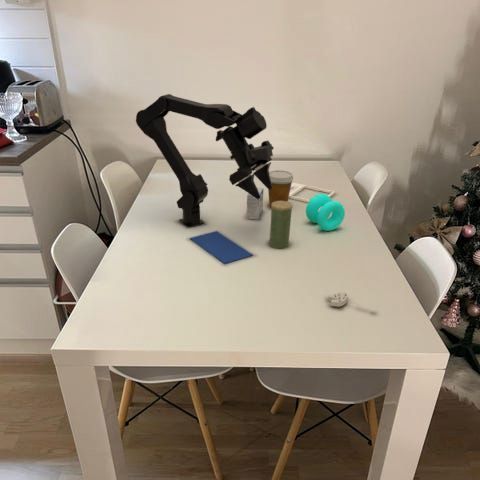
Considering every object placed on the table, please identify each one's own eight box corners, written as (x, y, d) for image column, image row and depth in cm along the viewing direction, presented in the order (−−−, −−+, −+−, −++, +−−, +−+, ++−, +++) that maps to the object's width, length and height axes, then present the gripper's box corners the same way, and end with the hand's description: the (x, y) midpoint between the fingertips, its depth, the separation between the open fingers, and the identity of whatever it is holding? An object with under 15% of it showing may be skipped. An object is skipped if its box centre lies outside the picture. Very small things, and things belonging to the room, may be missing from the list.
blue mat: (189, 239, 154) (189, 238, 154) (216, 232, 159) (216, 231, 159) (224, 264, 141) (224, 263, 141) (252, 255, 146) (252, 254, 145)
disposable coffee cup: (293, 204, 181) (296, 171, 174) (287, 213, 174) (290, 179, 167) (269, 200, 184) (270, 168, 177) (261, 209, 176) (263, 176, 169)
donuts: (318, 234, 159) (322, 204, 154) (302, 222, 167) (305, 194, 161) (344, 229, 163) (348, 200, 157) (327, 218, 170) (331, 190, 165)
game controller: (328, 295, 128) (330, 287, 126) (373, 302, 126) (375, 293, 124) (326, 306, 123) (328, 298, 122) (373, 313, 121) (375, 305, 120)
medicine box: (259, 220, 168) (260, 195, 163) (246, 218, 169) (247, 194, 164) (262, 211, 174) (263, 187, 170) (250, 210, 175) (251, 186, 170)
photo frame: (293, 182, 198) (335, 190, 190) (293, 184, 198) (334, 193, 191) (276, 192, 187) (320, 202, 180) (276, 195, 188) (319, 205, 181)
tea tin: (265, 243, 153) (267, 203, 146) (280, 238, 156) (283, 199, 149) (277, 250, 149) (280, 209, 142) (292, 245, 152) (296, 205, 145)
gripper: (246, 140, 132) (274, 191, 136) (271, 126, 146) (297, 172, 150) (216, 160, 139) (244, 208, 143) (243, 144, 153) (269, 189, 157)
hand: (265, 193), depth 148 cm, fingers open, 9 cm apart
